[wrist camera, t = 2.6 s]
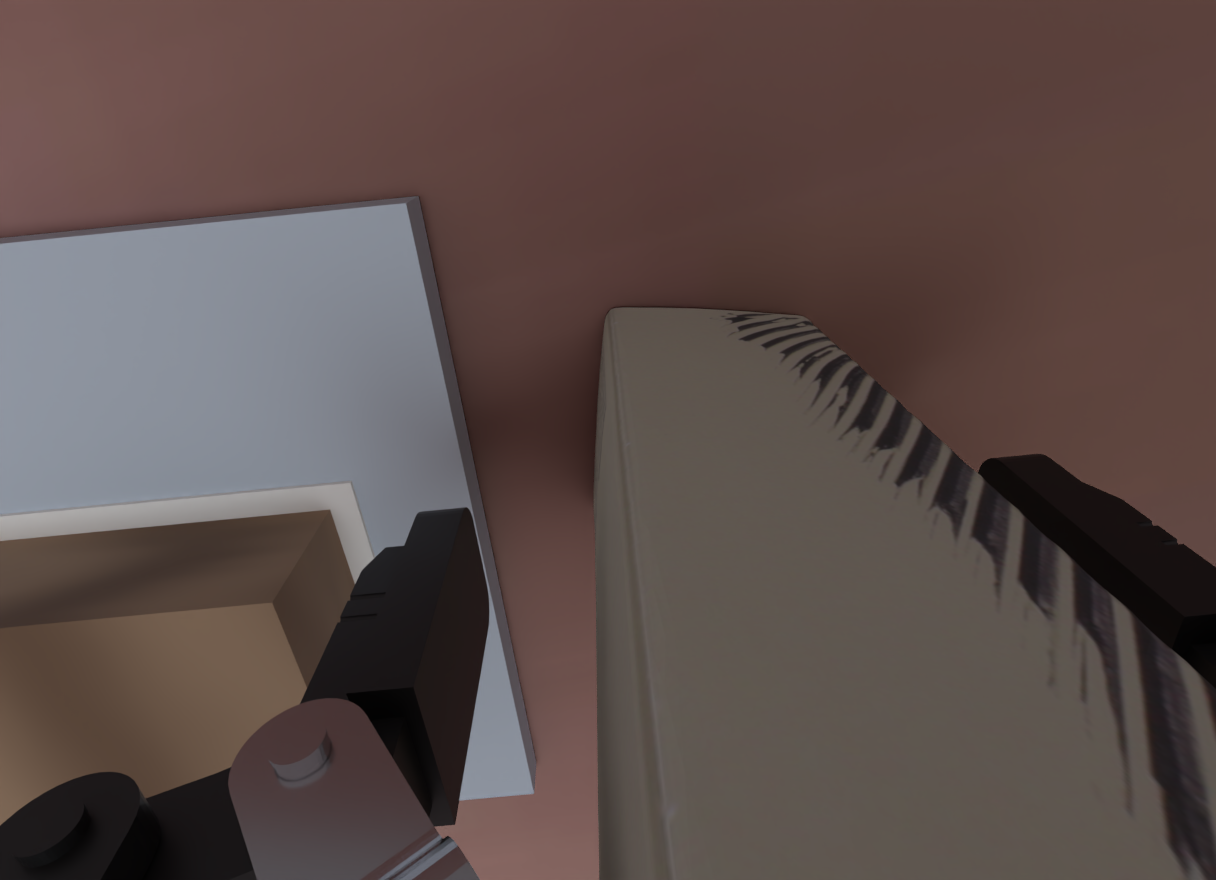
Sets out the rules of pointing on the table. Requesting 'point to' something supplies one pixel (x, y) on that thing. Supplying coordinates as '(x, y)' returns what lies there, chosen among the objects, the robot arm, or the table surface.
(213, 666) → the base block
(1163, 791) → the box
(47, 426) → the board
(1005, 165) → the table surface
